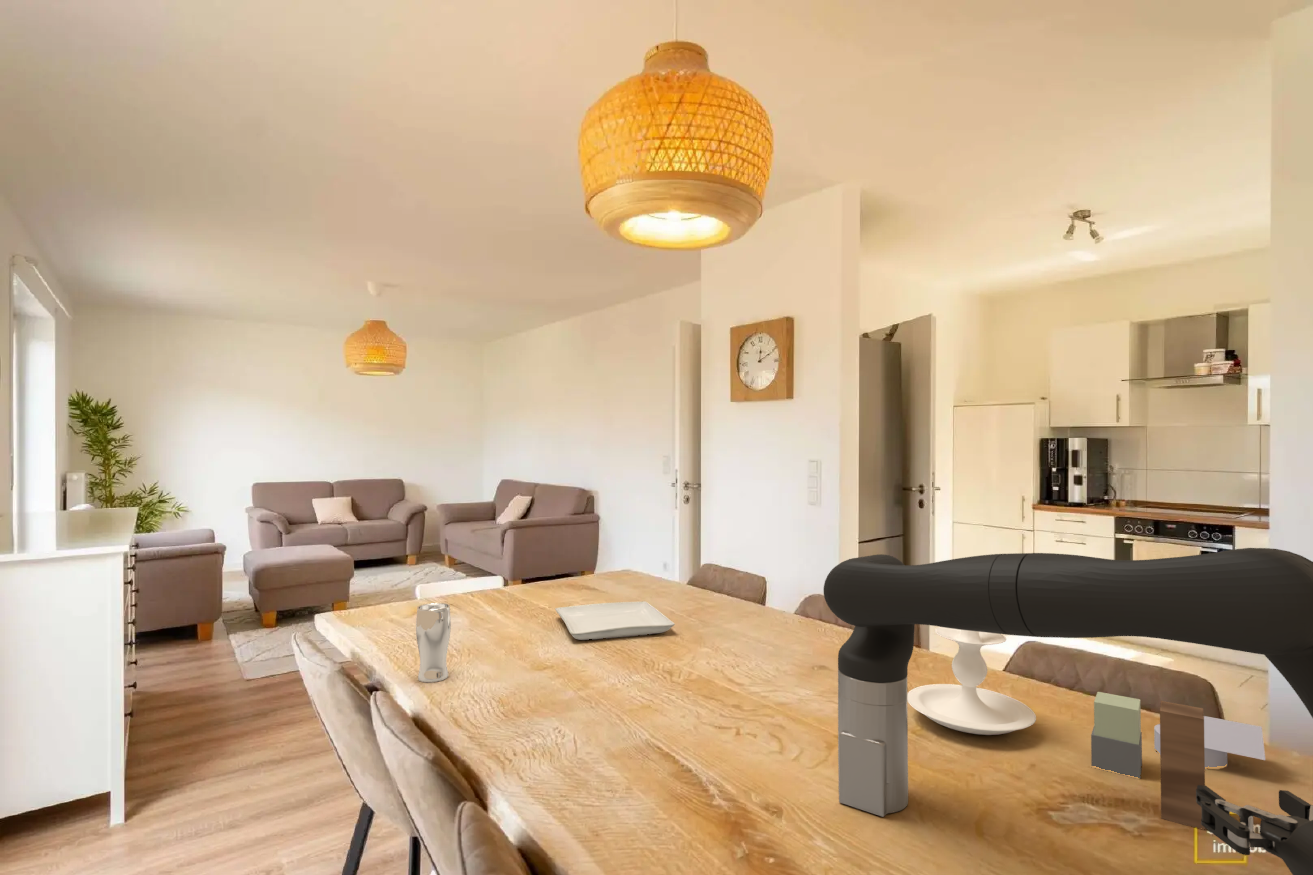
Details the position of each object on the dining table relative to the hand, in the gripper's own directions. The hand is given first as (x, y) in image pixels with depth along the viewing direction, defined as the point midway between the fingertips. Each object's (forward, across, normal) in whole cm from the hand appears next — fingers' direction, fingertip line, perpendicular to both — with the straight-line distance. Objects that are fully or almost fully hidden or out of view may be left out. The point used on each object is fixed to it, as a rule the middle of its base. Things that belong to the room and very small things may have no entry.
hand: (1240, 795), depth 78 cm
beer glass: (+48, +122, +8) cm, 132 cm away
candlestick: (+40, +18, +8) cm, 45 cm away
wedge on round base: (+29, -14, +8) cm, 33 cm away
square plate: (+93, +93, +8) cm, 132 cm away
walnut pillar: (+11, 0, +8) cm, 13 cm away
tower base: (+25, +1, +8) cm, 26 cm away
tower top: (+25, +1, +3) cm, 25 cm away
